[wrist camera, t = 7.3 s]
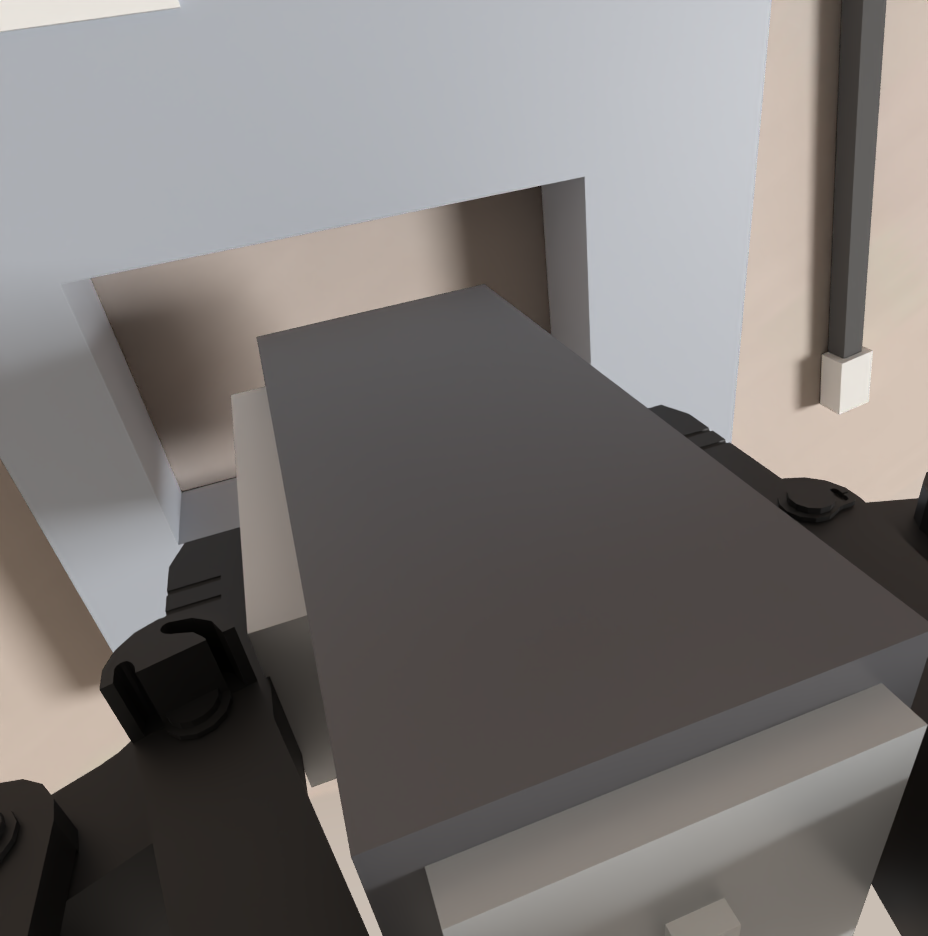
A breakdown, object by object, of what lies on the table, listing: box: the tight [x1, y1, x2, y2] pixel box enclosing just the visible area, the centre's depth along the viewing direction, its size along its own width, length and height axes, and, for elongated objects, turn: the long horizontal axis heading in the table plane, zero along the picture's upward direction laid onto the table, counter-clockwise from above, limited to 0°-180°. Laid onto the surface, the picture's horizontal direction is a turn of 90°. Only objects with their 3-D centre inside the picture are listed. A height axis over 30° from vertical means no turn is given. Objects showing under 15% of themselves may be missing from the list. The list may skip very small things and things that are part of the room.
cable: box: [820, 0, 886, 415], centre depth 19 cm, size 17×1×1 cm, turn 16°
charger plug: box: [257, 284, 928, 936], centre depth 10 cm, size 4×4×11 cm
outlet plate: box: [0, 0, 772, 652], centre depth 16 cm, size 20×18×3 cm
